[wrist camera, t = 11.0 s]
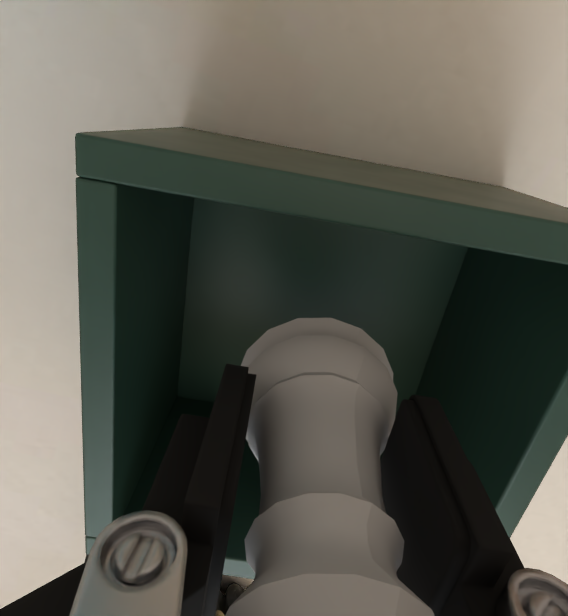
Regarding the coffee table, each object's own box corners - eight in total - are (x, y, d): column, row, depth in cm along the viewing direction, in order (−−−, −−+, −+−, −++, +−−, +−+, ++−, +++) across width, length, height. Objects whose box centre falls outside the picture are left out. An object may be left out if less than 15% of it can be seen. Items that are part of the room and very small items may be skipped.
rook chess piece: (290, 279, 11) (274, 568, 4) (422, 358, 12) (606, 716, 5) (212, 395, 13) (98, 753, 6) (333, 458, 14) (370, 841, 6)
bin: (180, 126, 15) (73, 131, 8) (504, 187, 15) (678, 243, 8) (162, 399, 19) (84, 555, 12) (410, 439, 20) (469, 612, 13)
